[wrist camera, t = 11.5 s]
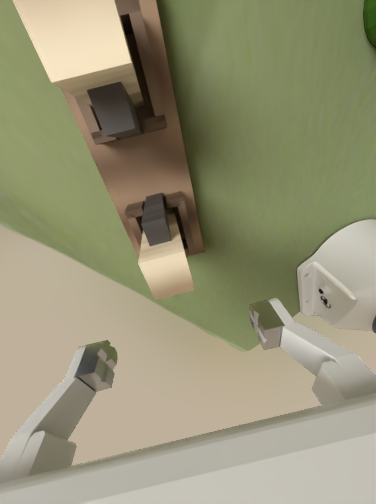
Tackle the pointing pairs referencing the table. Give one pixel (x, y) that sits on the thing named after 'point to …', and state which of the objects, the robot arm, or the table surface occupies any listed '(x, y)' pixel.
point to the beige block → (163, 251)
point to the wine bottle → (370, 20)
